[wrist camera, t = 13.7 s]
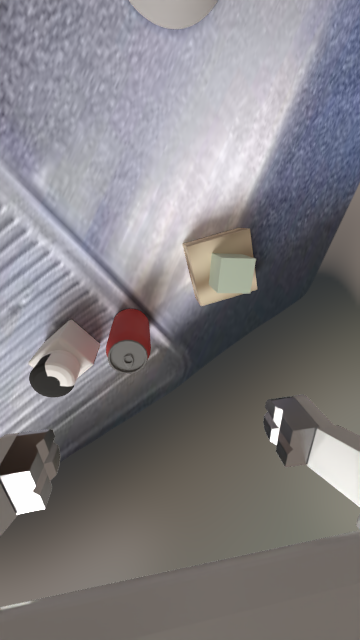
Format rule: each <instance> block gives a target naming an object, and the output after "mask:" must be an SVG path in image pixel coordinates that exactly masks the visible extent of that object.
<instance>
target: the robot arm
mask: <svg viewBox="0 0 360 640" xmlns="http://www.w3.org/2000/svg"><path fill="white" fill-rule="evenodd" d="M129 1H130V3H131V4H132V5H133V6H134V8H135V9H136V10H137V11H138V12H139V13H140V14H141V15H142V16H144V17H145V18H146V19H147V20H149V21H151V22H152V23H154V24H156V25H158V26H161V27H164V28H168V29H183V28H187V27H190V26H193V25H194V24H196V23H198V22H199V21H201V20H202V19H203V18H204V17H206V16H207V15H208V14H209V12H210V11H211V10H212V9H213V7H214V6H215V4H216V3H217V1H218V0H129ZM265 408H266V409H267V411H268V412H267V413H266V414H265V416H264V421H263V423H264V429H265V432H266V435H267V436H268V438H269V440H270V441H271V442H272V443H274V444H275V445H277V446H276V452H277V454H278V456H279V458H280V459H281V461H282V463H283V464H284V466H285V467H291V466H298V465H305V464H307V466H308V467H310V468H311V469H312V470H313V471H315V472H316V473H317V474H319V475H320V476H321V477H322V478H323V479H325V480H326V481H327V482H329V483H330V484H331V485H332V486H334V487H335V488H336V489H337V490H339V491H340V492H341V493H343V494H344V495H345V496H347V497H348V498H349V499H350V500H351V501H353V502H354V503H355V504H356V505H358V506H359V507H360V436H359V435H357V434H355V433H353V432H351V431H349V430H347V429H345V428H343V427H341V426H339V425H333V424H332V423H331V421H330V420H329V419H328V418H327V417H326V416H325V415H324V414H323V413H322V412H321V411H320V410H319V409H318V408H317V407H316V406H315V404H314V403H313V402H312V401H311V400H310V399H309V398H308V397H307V396H306V395H296V396H291V397H282V398H276V399H269V400H267V402H266V405H265ZM54 438H55V435H54V432H53V430H51V429H47V430H38V431H29V432H21V433H13V434H5V435H4V436H3V437H1V438H0V536H1V535H2V533H3V532H4V531H5V530H6V529H7V527H8V526H9V525H10V524H11V523H12V521H13V520H14V519H15V518H16V517H17V515H16V514H21V513H26V512H31V511H36V510H41V509H45V507H46V504H47V502H48V498H49V496H50V493H51V490H52V485H51V482H50V481H51V479H52V478H54V477H55V475H56V474H57V472H58V468H59V464H60V450H59V446H58V445H57V444H55V443H54V442H53V441H54ZM356 525H357V527H358V528H359V531H354V532H349V533H344V534H340V535H335V536H331V537H326V538H321V539H316V540H312V541H308V542H302V543H298V544H294V545H288V546H284V547H279V548H274V549H270V550H265V551H260V552H256V553H251V554H247V555H242V556H237V557H232V558H228V559H223V560H218V561H214V562H209V563H204V564H199V565H195V566H191V567H185V568H181V569H176V570H171V571H167V572H162V573H158V574H153V575H148V576H143V577H139V578H134V579H130V580H125V581H120V582H115V583H111V584H106V585H102V586H97V587H92V588H87V589H83V590H78V591H73V592H69V593H64V594H59V595H55V596H50V597H45V598H41V599H36V600H32V601H27V602H22V603H17V604H13V605H8V606H4V607H0V640H360V515H359V517H358V519H357V524H356Z"/></svg>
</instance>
